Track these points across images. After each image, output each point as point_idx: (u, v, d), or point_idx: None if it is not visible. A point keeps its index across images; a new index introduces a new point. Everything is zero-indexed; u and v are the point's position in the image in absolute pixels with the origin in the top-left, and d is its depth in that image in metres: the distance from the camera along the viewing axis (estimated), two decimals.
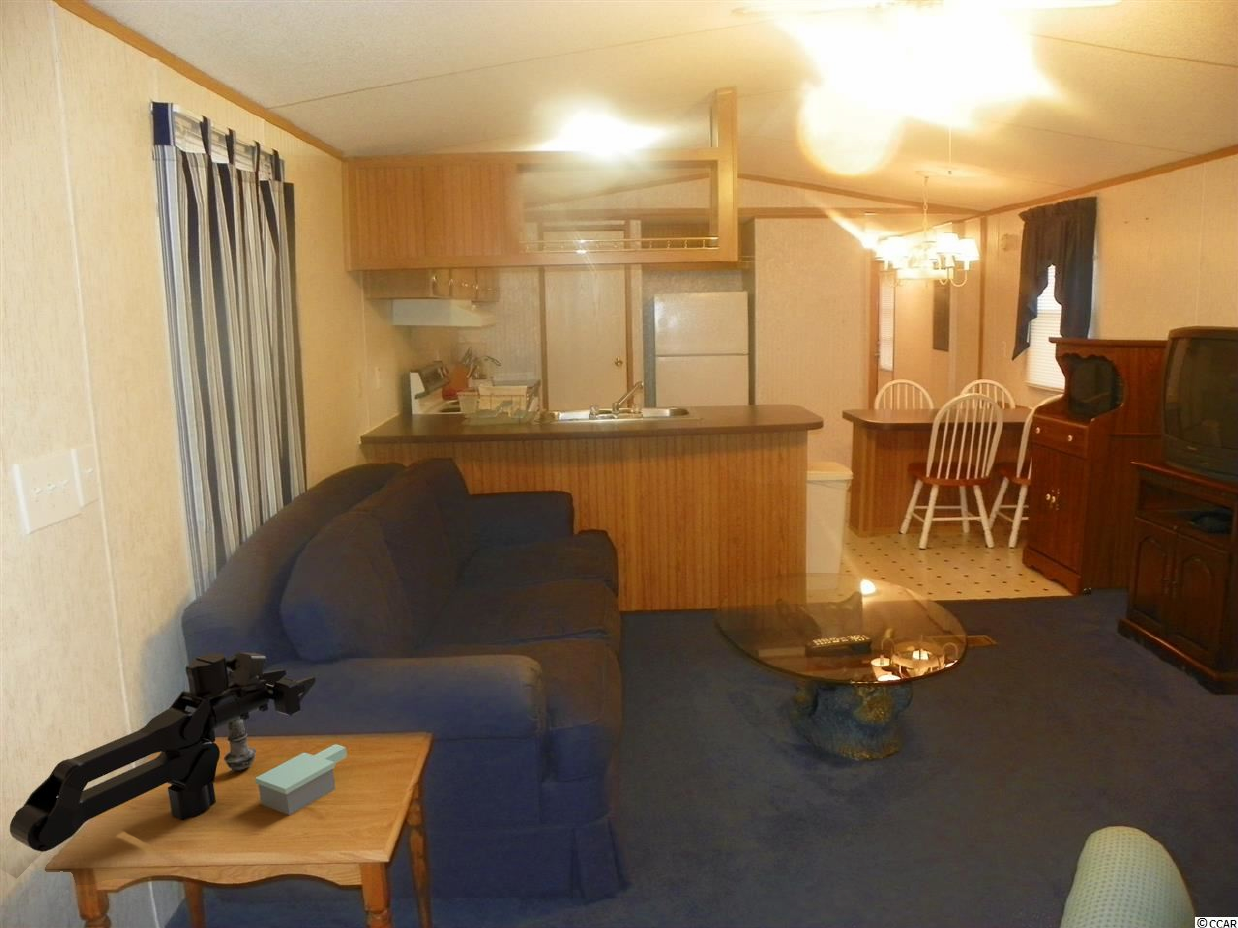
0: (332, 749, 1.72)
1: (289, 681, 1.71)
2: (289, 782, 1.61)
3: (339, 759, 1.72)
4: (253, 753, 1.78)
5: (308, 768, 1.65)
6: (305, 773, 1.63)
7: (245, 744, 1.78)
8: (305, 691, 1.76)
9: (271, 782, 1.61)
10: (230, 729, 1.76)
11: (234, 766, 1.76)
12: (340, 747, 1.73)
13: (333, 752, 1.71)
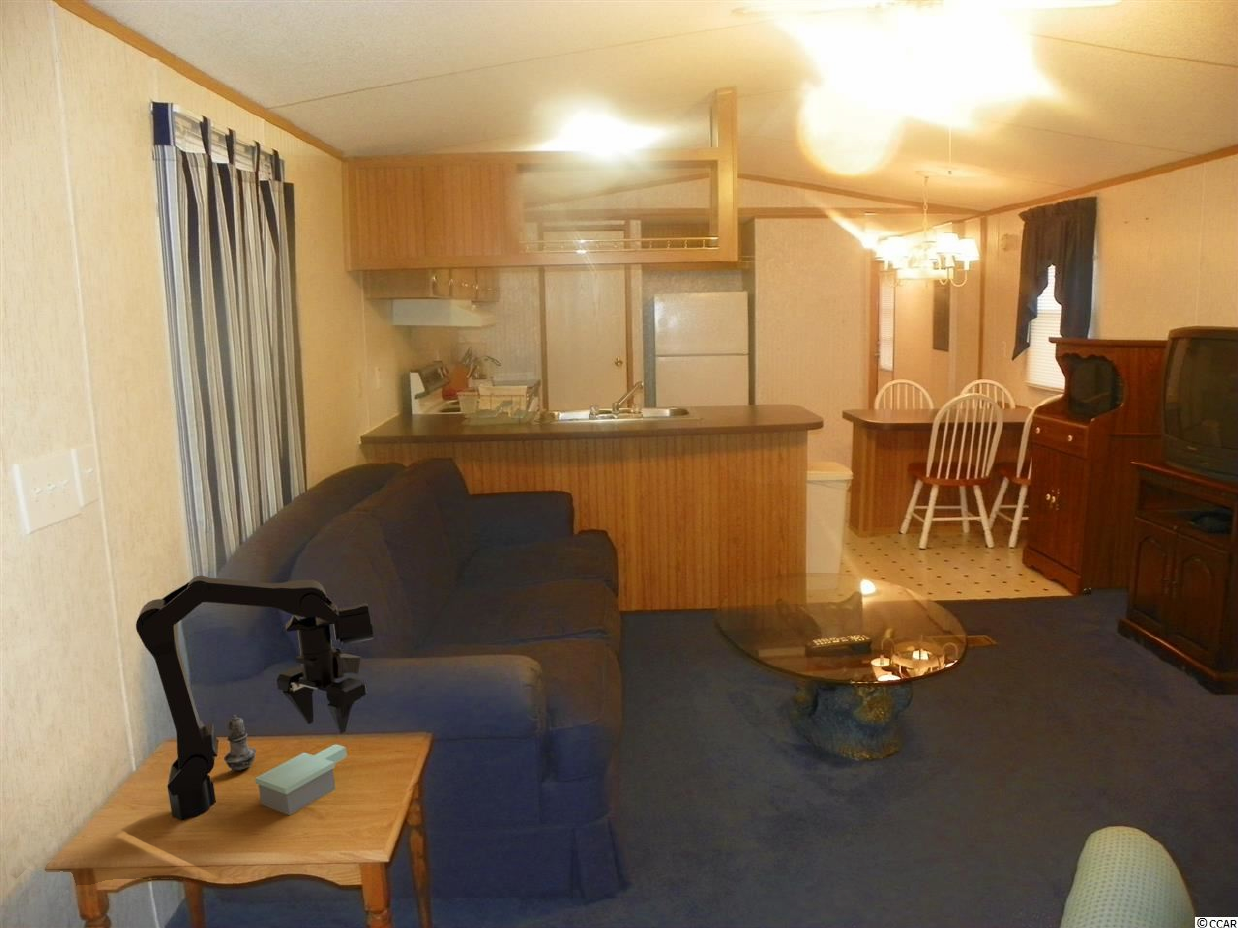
0: (332, 749, 1.72)
1: None
2: (289, 782, 1.61)
3: (339, 759, 1.72)
4: (253, 753, 1.78)
5: (308, 768, 1.65)
6: (305, 773, 1.63)
7: (245, 744, 1.78)
8: (339, 719, 1.66)
9: (271, 782, 1.61)
10: (230, 729, 1.76)
11: (234, 766, 1.76)
12: (340, 747, 1.73)
13: (333, 752, 1.71)
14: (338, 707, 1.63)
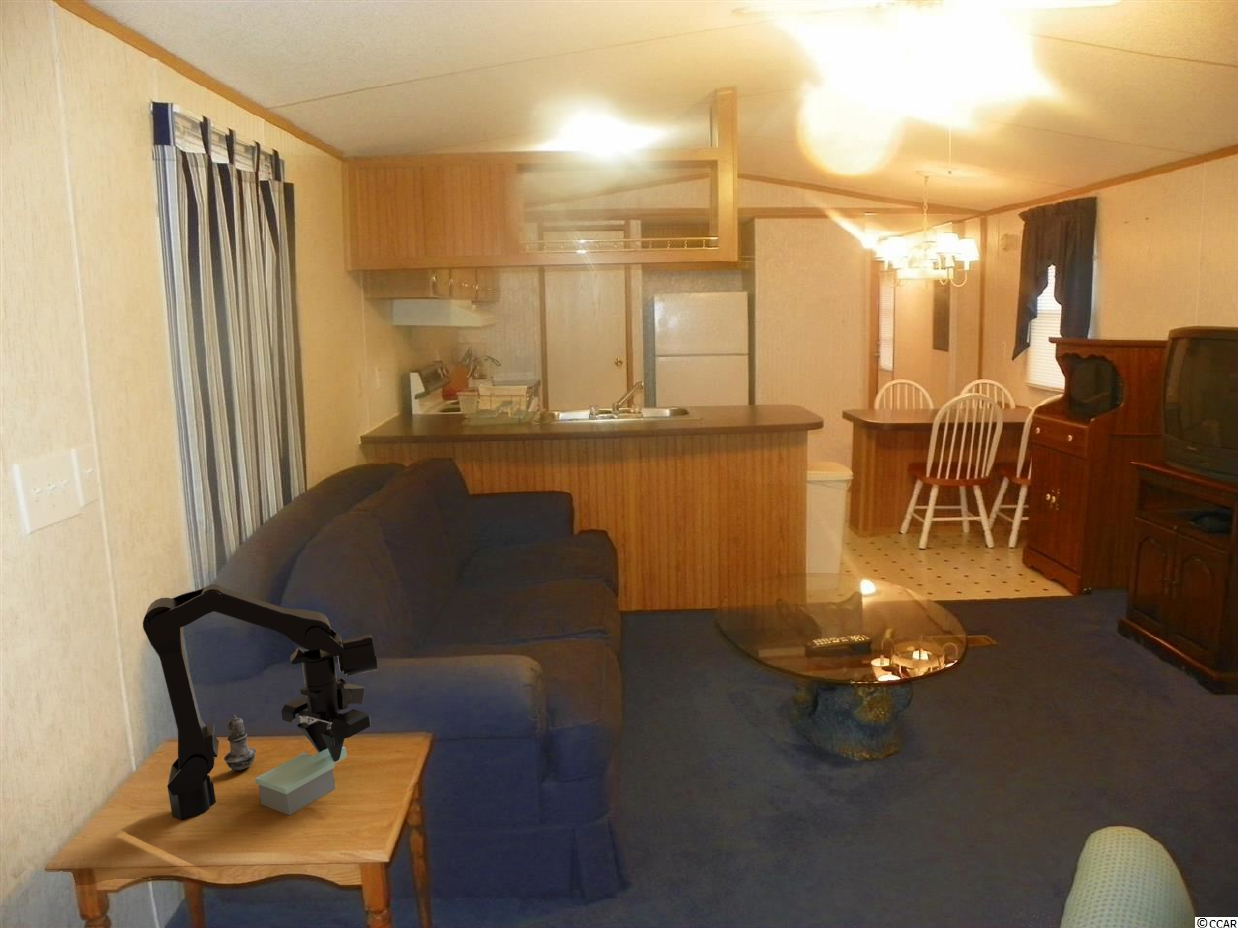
0: None
1: None
2: (289, 782, 1.61)
3: (339, 759, 1.72)
4: (253, 753, 1.78)
5: (308, 768, 1.65)
6: (305, 773, 1.63)
7: (245, 744, 1.78)
8: (333, 747, 1.69)
9: (271, 782, 1.61)
10: (230, 729, 1.76)
11: (234, 766, 1.76)
12: None
13: None
14: (332, 736, 1.66)
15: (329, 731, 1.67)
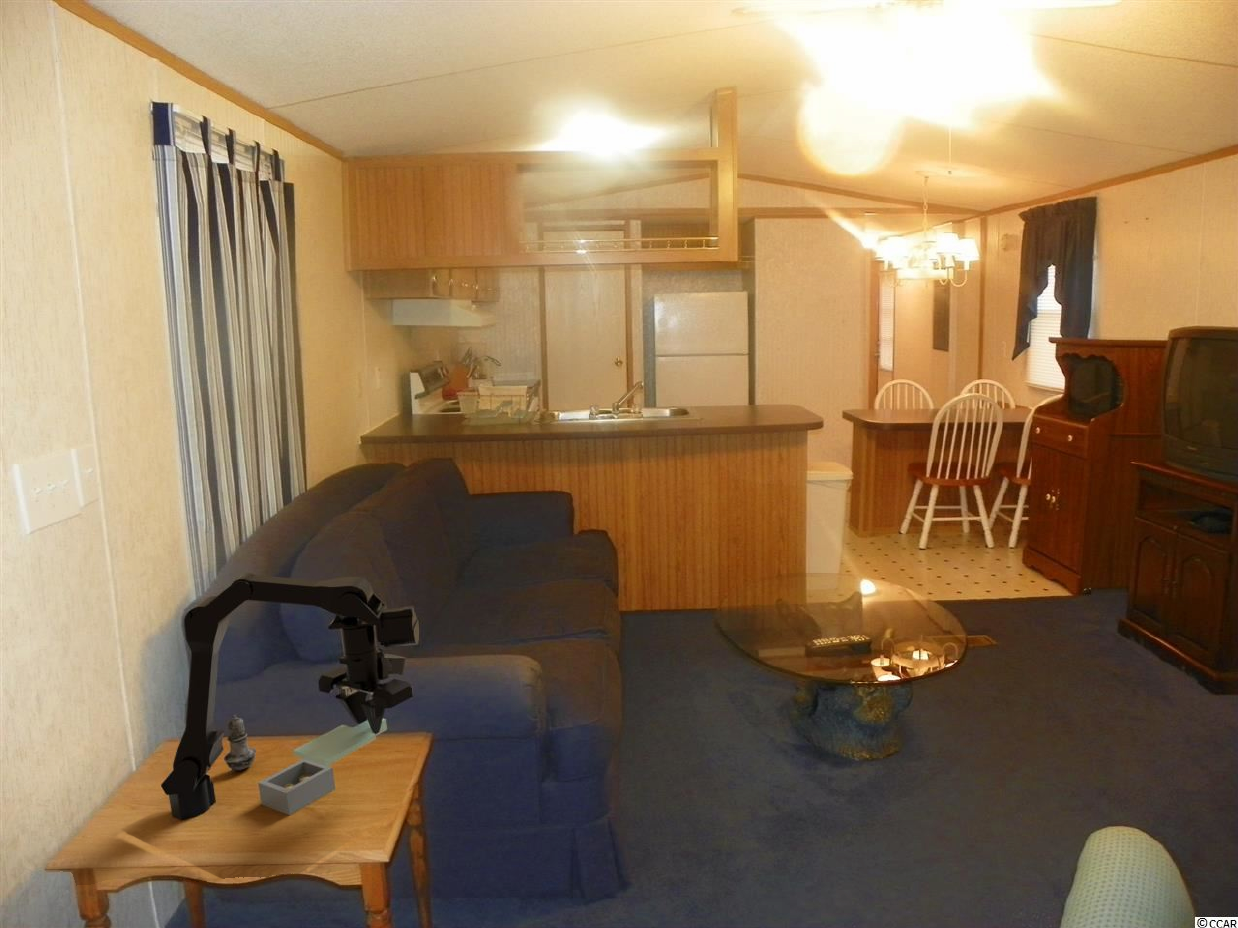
0: None
1: None
2: (330, 754, 1.53)
3: None
4: (253, 753, 1.78)
5: (349, 740, 1.58)
6: (346, 745, 1.56)
7: (245, 744, 1.78)
8: (374, 719, 1.61)
9: (310, 754, 1.53)
10: (230, 729, 1.76)
11: (234, 766, 1.76)
12: None
13: None
14: (373, 707, 1.58)
15: (370, 702, 1.60)
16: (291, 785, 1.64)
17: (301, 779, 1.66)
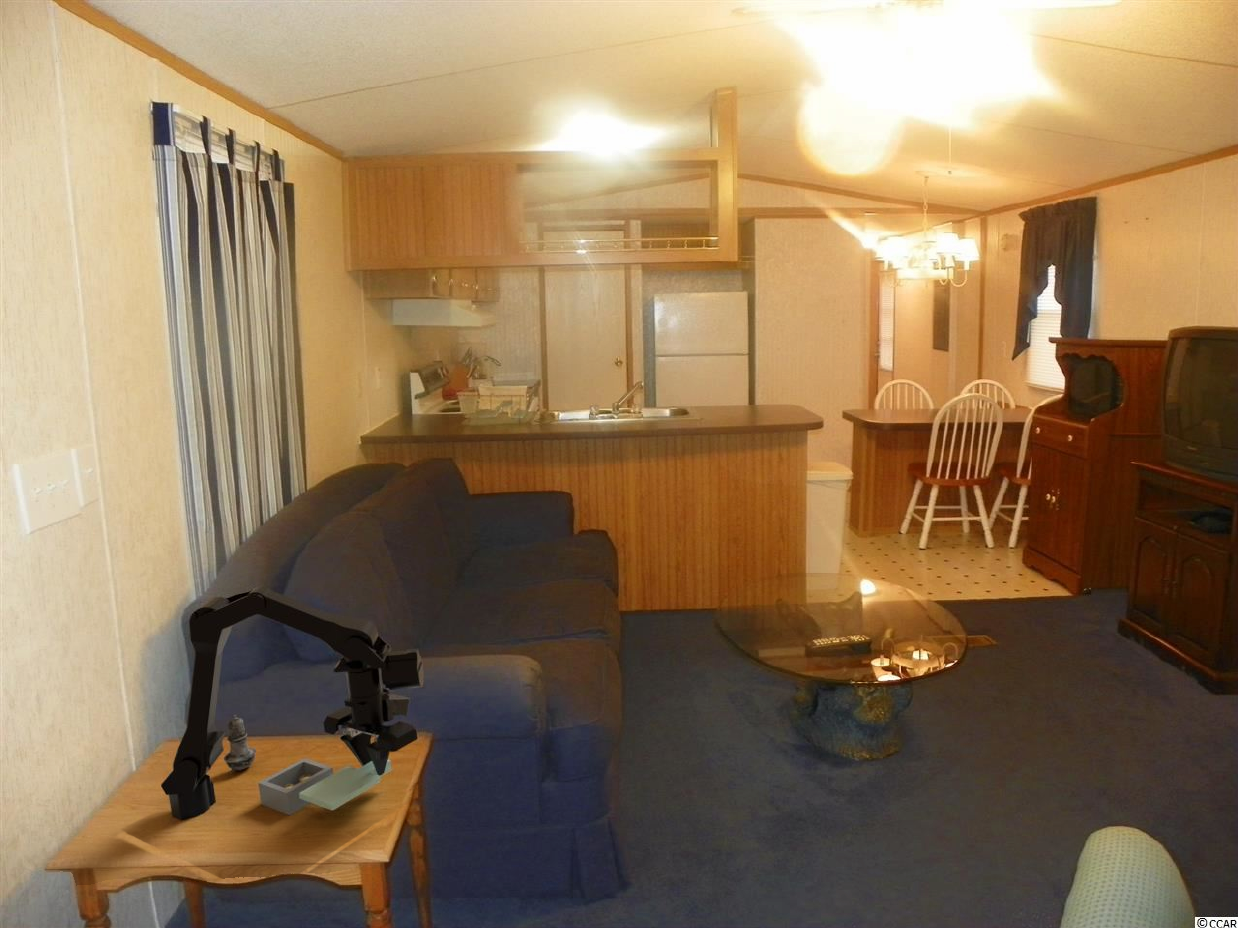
0: None
1: None
2: (335, 798, 1.54)
3: (384, 772, 1.65)
4: (253, 753, 1.78)
5: (354, 782, 1.59)
6: (351, 788, 1.57)
7: (245, 744, 1.78)
8: (379, 761, 1.62)
9: (316, 797, 1.55)
10: (230, 729, 1.76)
11: (234, 766, 1.76)
12: None
13: None
14: (378, 749, 1.59)
15: (374, 744, 1.61)
16: (291, 785, 1.64)
17: (301, 779, 1.66)
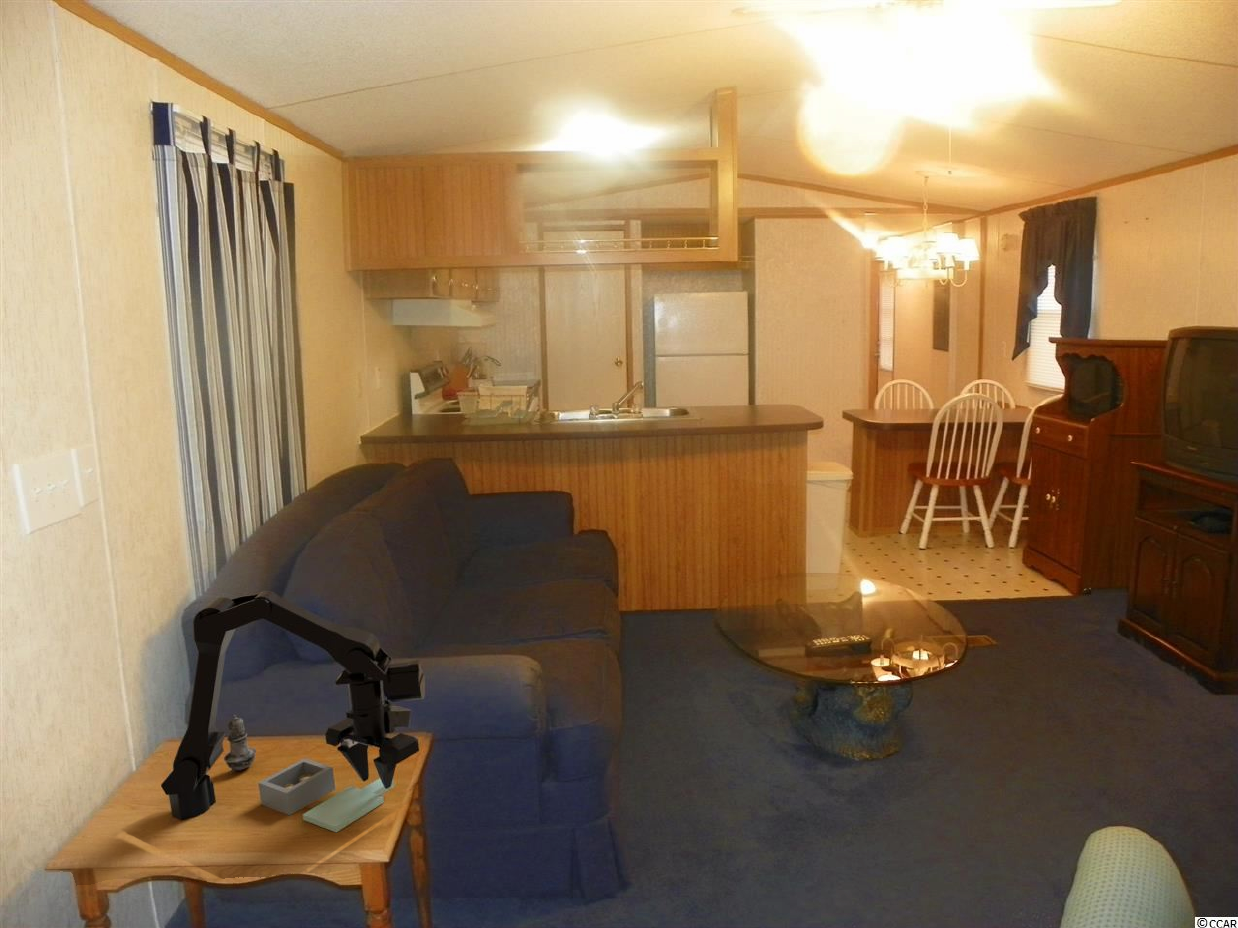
0: (379, 783, 1.66)
1: None
2: (339, 819, 1.55)
3: None
4: (253, 753, 1.78)
5: (357, 804, 1.60)
6: (354, 809, 1.58)
7: (245, 744, 1.78)
8: (385, 774, 1.62)
9: (320, 819, 1.55)
10: (230, 729, 1.76)
11: (234, 766, 1.76)
12: None
13: (380, 785, 1.65)
14: (385, 763, 1.59)
15: None
16: (291, 785, 1.64)
17: (301, 779, 1.66)
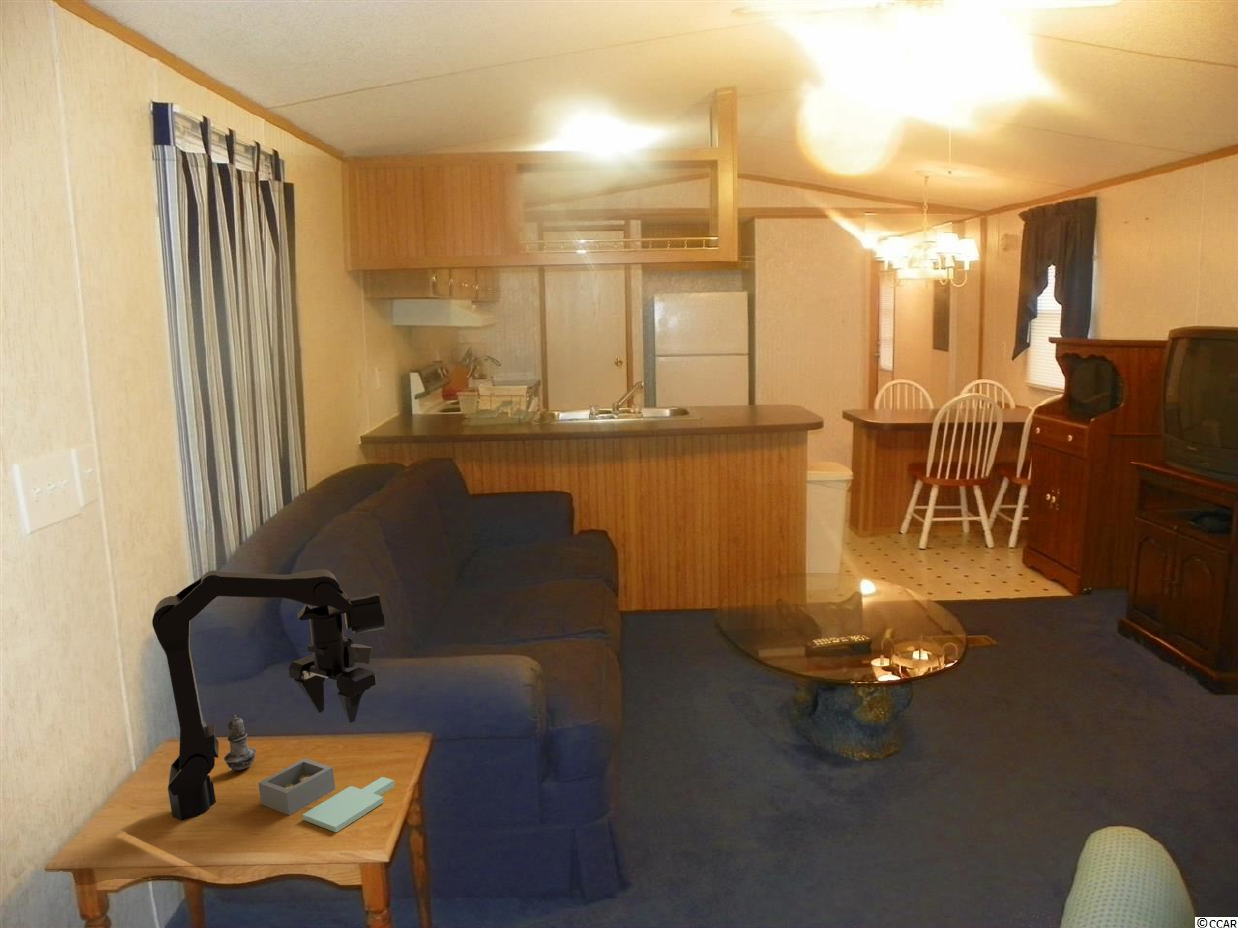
0: (379, 783, 1.66)
1: None
2: (339, 819, 1.55)
3: None
4: (253, 753, 1.78)
5: (357, 804, 1.60)
6: (354, 809, 1.58)
7: (245, 744, 1.78)
8: (349, 708, 1.67)
9: (320, 819, 1.55)
10: (230, 729, 1.76)
11: (234, 766, 1.76)
12: (388, 780, 1.67)
13: (380, 785, 1.65)
14: (348, 696, 1.64)
15: None
16: (291, 785, 1.64)
17: (301, 779, 1.66)
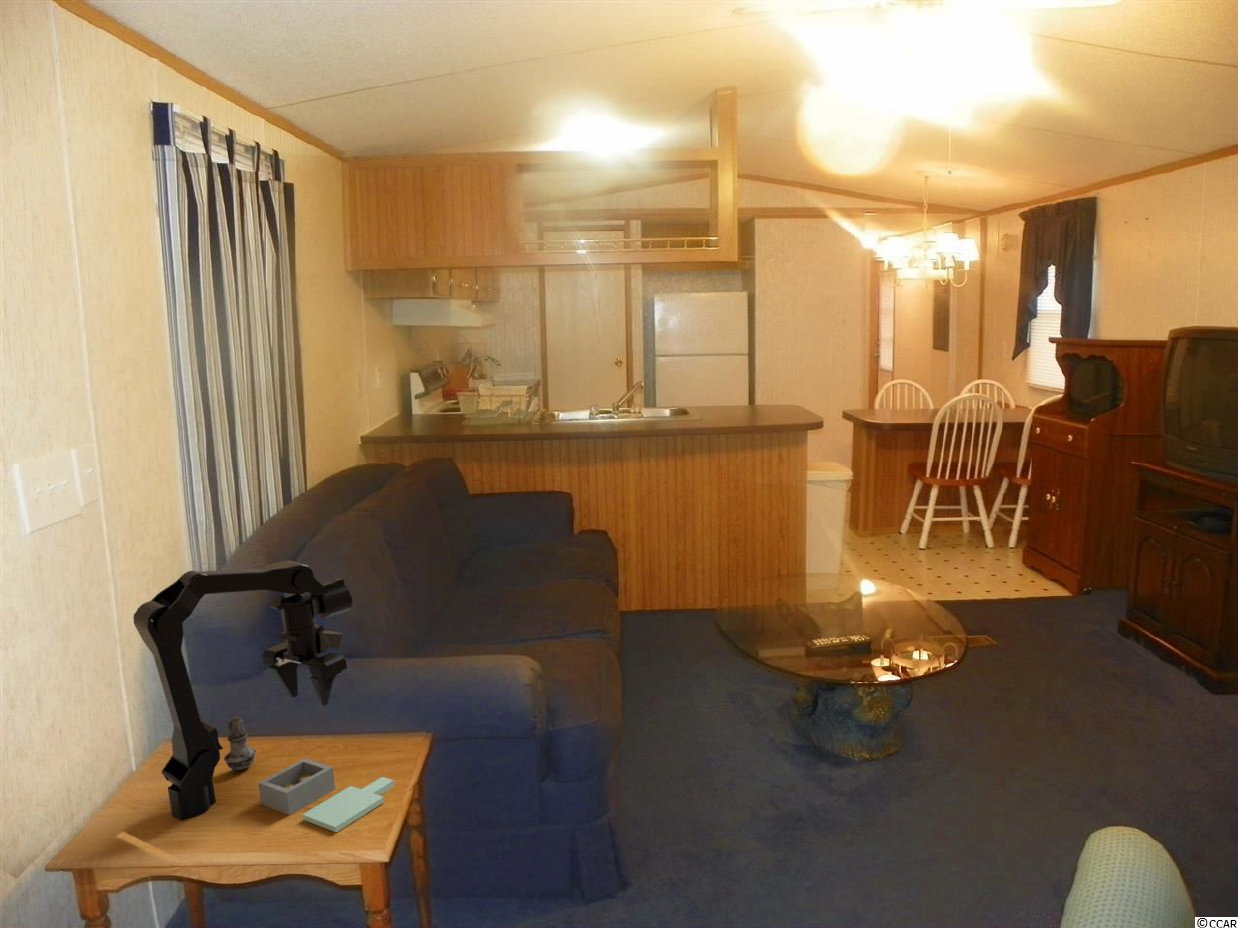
0: (379, 783, 1.66)
1: None
2: (339, 819, 1.55)
3: None
4: (253, 753, 1.78)
5: (357, 804, 1.60)
6: (354, 809, 1.58)
7: (245, 744, 1.78)
8: (322, 692, 1.75)
9: (320, 819, 1.55)
10: (230, 729, 1.76)
11: (234, 766, 1.76)
12: (388, 780, 1.67)
13: (380, 785, 1.65)
14: (320, 680, 1.72)
15: None
16: (291, 785, 1.64)
17: (301, 779, 1.66)
